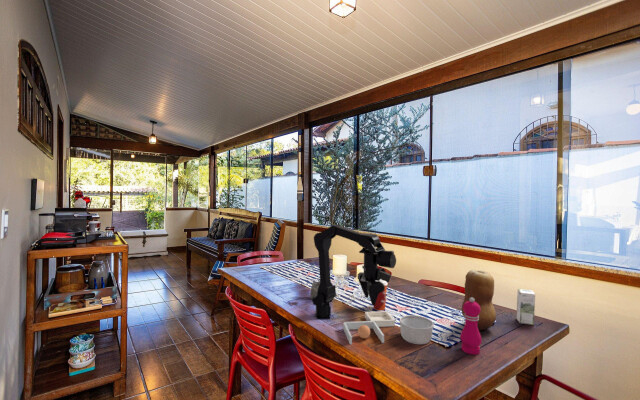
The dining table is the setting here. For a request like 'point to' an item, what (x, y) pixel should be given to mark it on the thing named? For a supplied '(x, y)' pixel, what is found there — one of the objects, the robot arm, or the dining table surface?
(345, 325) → the white c-shaped bracket
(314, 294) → the mineral rock
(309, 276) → the dining table surface
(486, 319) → the butternut squash
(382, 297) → the paper cup
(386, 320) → the dish
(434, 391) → the dining table surface
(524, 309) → the syrup box
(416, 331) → the ramekin
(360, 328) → the ball
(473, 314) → the pepper mill
